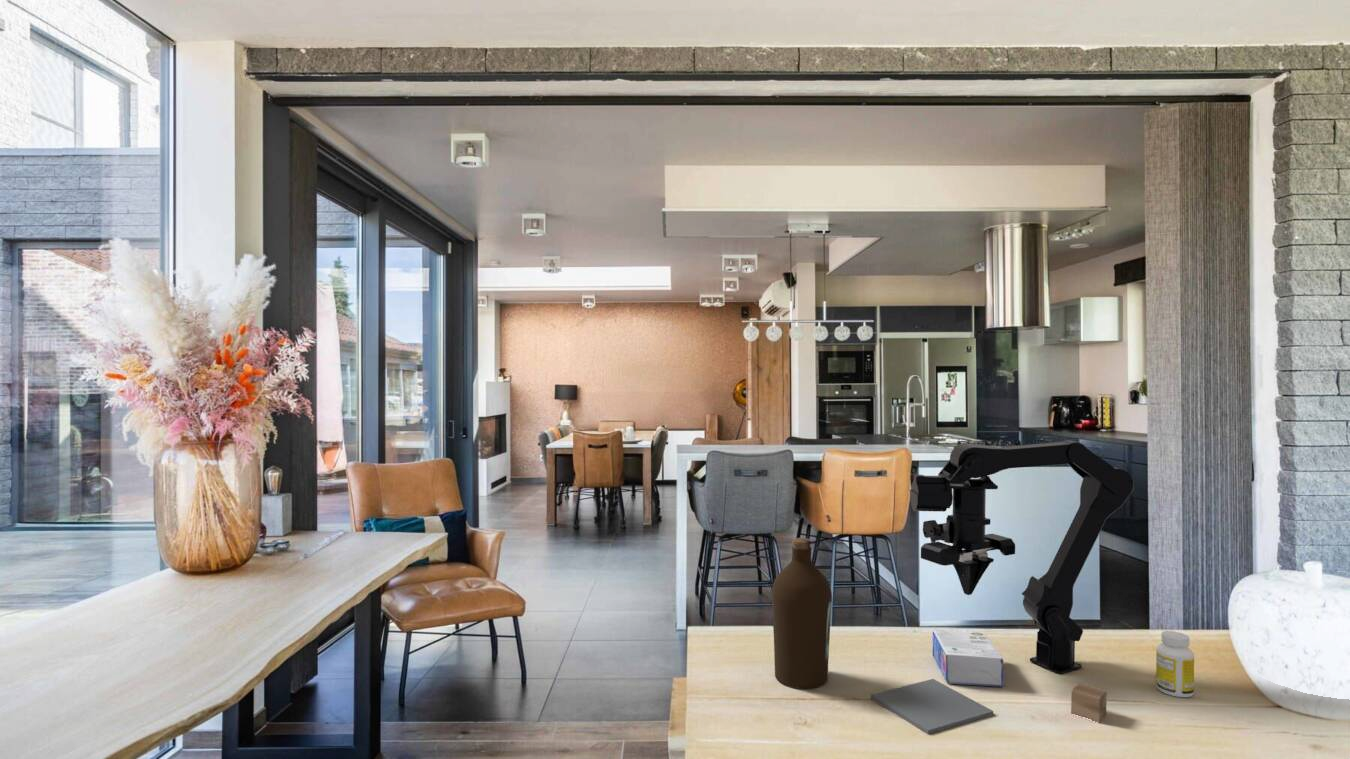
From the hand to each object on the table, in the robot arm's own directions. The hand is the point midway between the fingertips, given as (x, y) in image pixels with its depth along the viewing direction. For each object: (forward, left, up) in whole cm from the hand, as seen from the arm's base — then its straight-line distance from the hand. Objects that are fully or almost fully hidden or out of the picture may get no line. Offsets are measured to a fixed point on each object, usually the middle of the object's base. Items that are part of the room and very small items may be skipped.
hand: (967, 594), depth 137 cm
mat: (+19, +10, -13) cm, 25 cm away
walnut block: (-2, +23, -13) cm, 27 cm away
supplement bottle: (-23, +24, -13) cm, 36 cm away
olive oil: (+32, -8, -13) cm, 36 cm away
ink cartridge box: (+7, +8, -10) cm, 15 cm away
